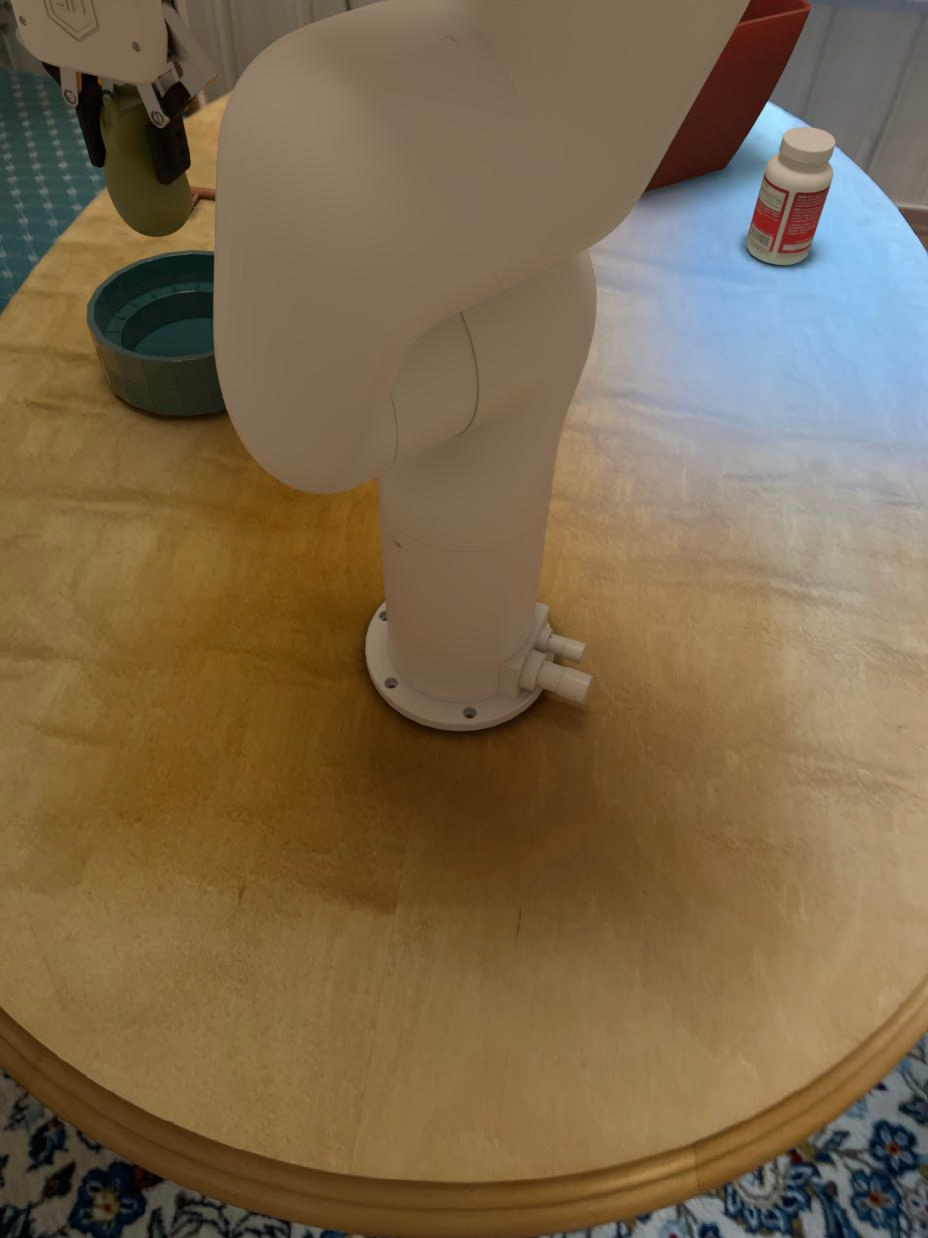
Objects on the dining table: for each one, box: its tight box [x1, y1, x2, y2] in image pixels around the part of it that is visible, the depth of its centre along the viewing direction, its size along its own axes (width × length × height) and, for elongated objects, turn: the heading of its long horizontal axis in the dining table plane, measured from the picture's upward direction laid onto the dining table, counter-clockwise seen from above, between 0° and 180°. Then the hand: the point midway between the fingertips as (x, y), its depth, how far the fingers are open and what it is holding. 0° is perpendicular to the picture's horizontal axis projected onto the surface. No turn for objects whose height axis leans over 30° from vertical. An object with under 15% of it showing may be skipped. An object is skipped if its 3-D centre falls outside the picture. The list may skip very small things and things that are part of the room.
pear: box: [100, 82, 193, 238], centre depth 67 cm, size 6×5×10 cm
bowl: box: [86, 249, 227, 417], centre depth 82 cm, size 15×15×6 cm
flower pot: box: [643, 0, 813, 193], centre depth 100 cm, size 19×19×17 cm
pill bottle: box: [745, 126, 836, 266], centre depth 92 cm, size 6×6×11 cm
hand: (141, 164), depth 67 cm, fingers closed on pear, 4 cm apart
